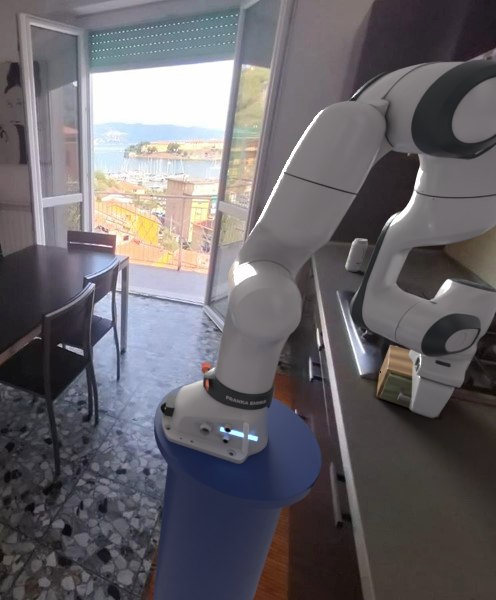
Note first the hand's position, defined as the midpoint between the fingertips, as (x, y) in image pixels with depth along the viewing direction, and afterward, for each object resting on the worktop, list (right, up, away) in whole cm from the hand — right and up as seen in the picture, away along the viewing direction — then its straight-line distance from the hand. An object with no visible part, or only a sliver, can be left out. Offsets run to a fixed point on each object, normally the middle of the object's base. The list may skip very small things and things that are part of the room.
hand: (413, 408), depth 78 cm
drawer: (+6, 0, +8) cm, 10 cm away
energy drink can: (+54, +38, +93) cm, 114 cm away
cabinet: (+9, 0, +12) cm, 15 cm away
